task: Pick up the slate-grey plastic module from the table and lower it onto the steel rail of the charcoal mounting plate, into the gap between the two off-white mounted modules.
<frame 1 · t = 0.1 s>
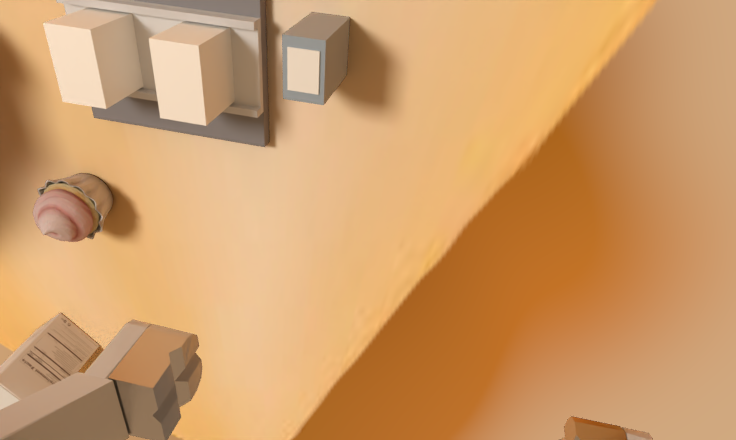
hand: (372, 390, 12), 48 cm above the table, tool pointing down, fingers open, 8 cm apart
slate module: (329, 44, 57), on the table
rail plate: (174, 49, 61), on the table
supplement box: (69, 336, 95), on the table
cupcake: (94, 192, 75), on the table
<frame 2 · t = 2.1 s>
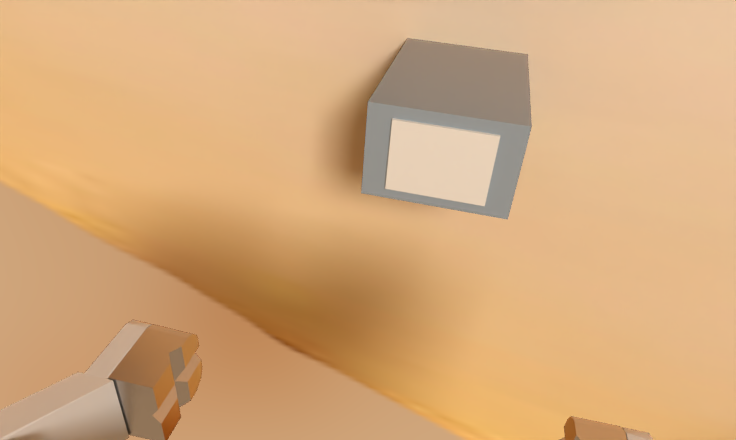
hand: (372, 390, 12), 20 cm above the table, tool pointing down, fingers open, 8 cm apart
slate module: (460, 84, 28), on the table
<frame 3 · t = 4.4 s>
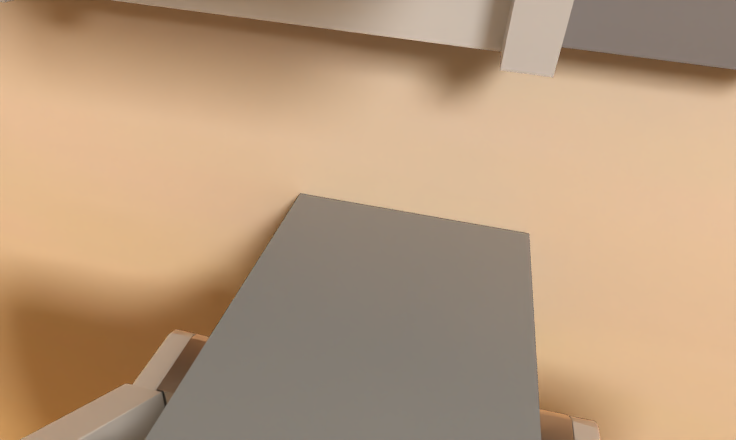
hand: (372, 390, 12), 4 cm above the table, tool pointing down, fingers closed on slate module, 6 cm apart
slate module: (403, 272, 15), on the table, touching gripper
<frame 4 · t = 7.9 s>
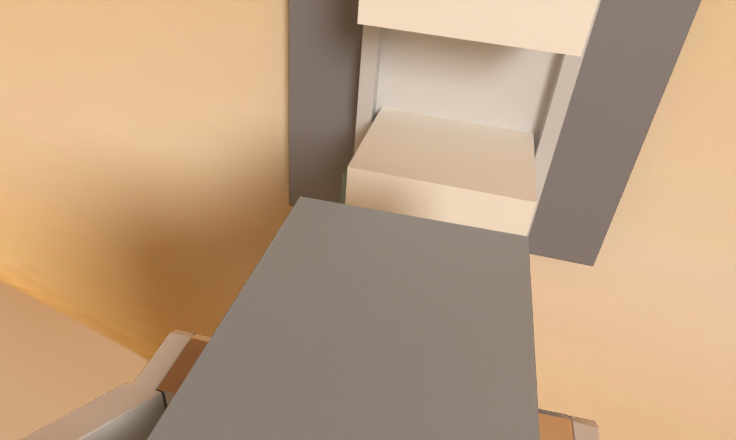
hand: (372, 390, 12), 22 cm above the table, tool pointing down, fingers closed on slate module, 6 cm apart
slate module: (402, 275, 15), point 18 cm above the table, touching gripper
rail plate: (469, 50, 29), on the table
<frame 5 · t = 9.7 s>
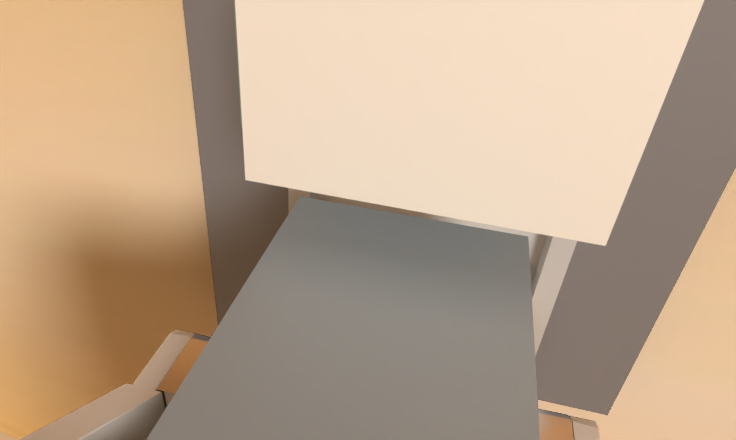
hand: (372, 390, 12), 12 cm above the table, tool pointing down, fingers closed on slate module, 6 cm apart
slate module: (402, 275, 15), point 8 cm above the table, touching gripper
rail plate: (441, 151, 21), on the table
when the fingers open (8 cm above the table, at t = 11.4 s): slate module drops 1 cm, resting on rail plate.
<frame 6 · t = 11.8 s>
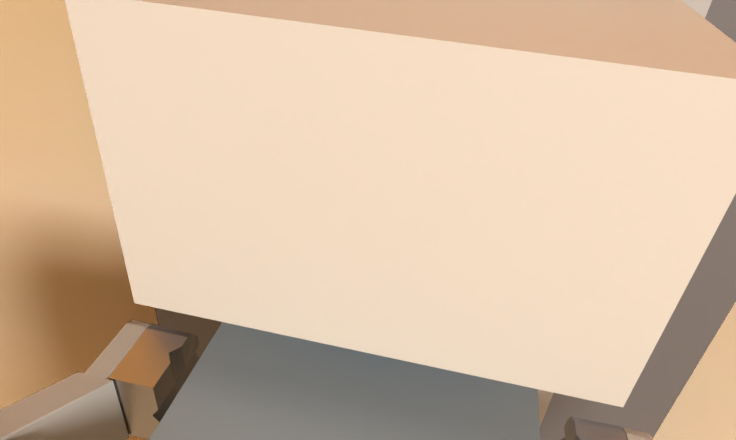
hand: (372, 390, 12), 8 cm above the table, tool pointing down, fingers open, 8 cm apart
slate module: (408, 251, 16), point 2 cm above the table, touching rail plate
rail plate: (418, 208, 18), on the table
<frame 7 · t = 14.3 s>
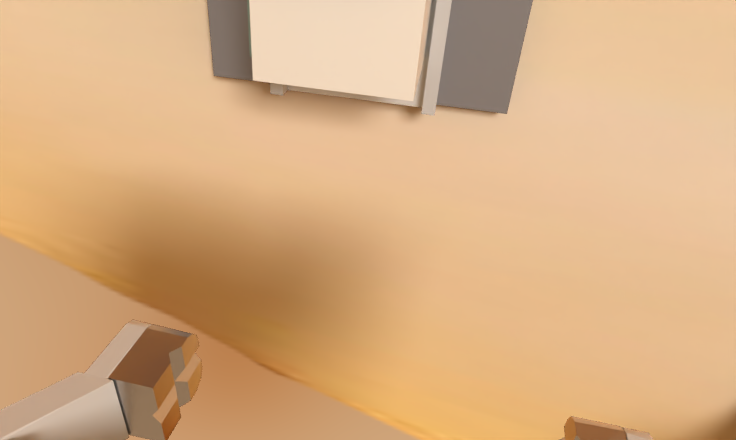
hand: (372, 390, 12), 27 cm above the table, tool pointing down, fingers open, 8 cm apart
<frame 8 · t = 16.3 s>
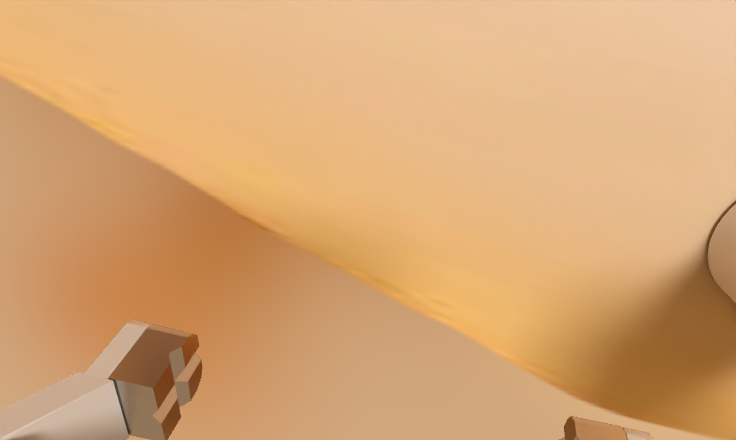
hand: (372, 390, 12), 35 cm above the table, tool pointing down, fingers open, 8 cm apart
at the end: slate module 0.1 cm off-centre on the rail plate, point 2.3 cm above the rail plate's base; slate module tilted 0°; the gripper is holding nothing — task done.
